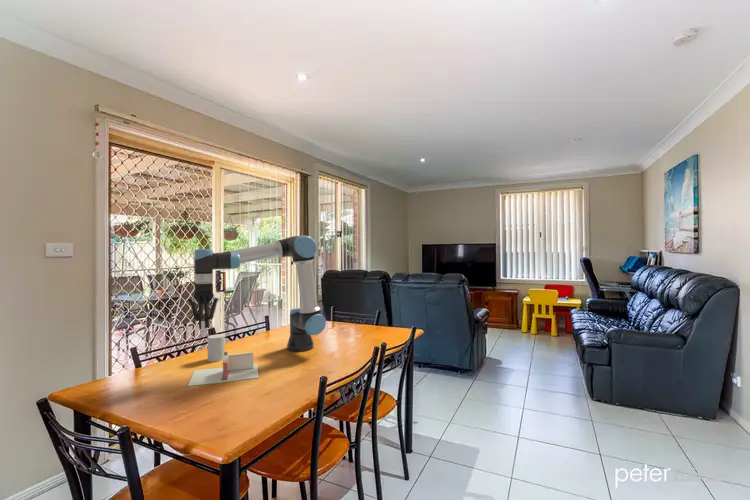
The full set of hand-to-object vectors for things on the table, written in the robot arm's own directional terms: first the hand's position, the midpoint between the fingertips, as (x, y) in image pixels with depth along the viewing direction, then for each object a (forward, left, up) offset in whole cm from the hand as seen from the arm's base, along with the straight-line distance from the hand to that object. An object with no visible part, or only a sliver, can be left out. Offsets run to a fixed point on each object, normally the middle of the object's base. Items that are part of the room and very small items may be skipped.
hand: (204, 334), depth 159 cm
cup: (-3, -24, -19) cm, 31 cm away
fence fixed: (-15, -2, -18) cm, 24 cm away
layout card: (-9, +2, -18) cm, 21 cm away
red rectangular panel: (-9, +5, -18) cm, 21 cm away
